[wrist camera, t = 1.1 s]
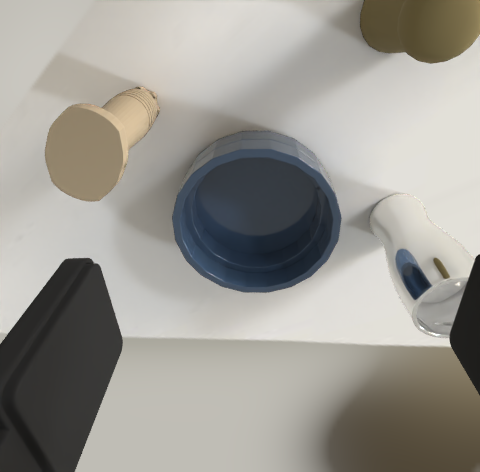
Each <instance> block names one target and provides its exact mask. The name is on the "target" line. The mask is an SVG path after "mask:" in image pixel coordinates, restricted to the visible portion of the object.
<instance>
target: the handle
mask: <svg viewBox="0 0 480 472" xmlns="http://www.w3.org/2000/svg"><path fill="white" fill-rule="evenodd" d="M159 111H160V107H159V106H158V104H157V95H156V93H155V92H150V91H148V90H146V89H145V88H144V87H136V88H135V89H130V90H127V91H124V92H122V93H120V94H118V95H116V96H115V97H113V98H112V99H111V100H109V101H108V102H107V103H106V104H105V105H104V106H103V107H102V108H100V107H98V106H95V105H91V104H75V105H72V106H70V107H68V108H67V109H66V110H65V111H64V112H63V113H62V114H61V115H60V116H59V117H58V118H57V119H56V120H55V121H54V123H53V124H52V126H51V127H50V129H49V133H48V136H47V142H46V147H45V160H46V164H47V168H48V171H49V174H50V178H51V181H52V182H53V183H54V184H55V186H56V187H58V188H59V189H60V190H61V191H63V192H64V193H66V194H68V195H70V196H72V197H74V198H77V199H80V200H84V201H99V200H101V199H102V198H103V197H104V196H105V195H107V194H108V193H109V192H110V191H111V190H112V189H113V188H114V186H115V185H116V184H117V183H118V182H119V180H120V179H121V177H122V175H123V173H124V170H125V167H126V165H127V160H128V150H129V149H130V148H131V147H133V146H134V145H135V144H136V143H137V142H138V141H140V140H141V139H142V138H143V137H144V136H145V135H146V133H147V132H148V131H149V130H150V128H151V126H152V125H153V123H154V121H155V119H156V117H157V116H158V114H159Z"/></svg>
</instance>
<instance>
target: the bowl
mask: <svg viewBox="0 0 480 472" xmlns="http://www.w3.org/2000/svg"><path fill="white" fill-rule="evenodd" d="M172 221H173V228H174V235H175V240H176V242H177V244H178V246H179V248H180V250H181V252H182V254H183V256H184V258H185V259H186V261H187V262H188V263H189V264H190V265H191V266H192V267H193V268H194V269H195V270H196V271H197V272H198V273H199V274H200V275H202V276H203V277H205V278H207V279H209V280H211V281H213V282H214V283H216V284H218V285H220V286H222V287H225V288H229V289H233V290H237V291H241V292H260V293H267V292H272V291H277V290H281V289H285V288H289V287H292V286H294V285H296V284H298V283H300V282H302V281H303V280H305V279H307V278H309V277H311V276H312V275H313V274H314V273H315V272H316V271H317V270H318V269H319V268H320V267H321V266H322V265H323V264H324V263H325V262H327V260H328V259H329V257H330V255H331V253H332V251H333V249H334V247H335V245H336V244H337V242H338V239H339V232H340V225H341V214H340V210H339V205H338V201H337V197H336V194H335V191H334V189H333V186H332V184H331V181H330V178H329V176H328V173H327V171H326V170H325V168H324V167H323V165H322V164H321V163H320V161H319V160H318V158H317V157H316V155H315V154H314V153H313V152H312V151H311V150H309V149H308V148H306V147H305V146H304V145H302V144H301V143H300V142H298V141H297V140H295V139H294V138H291V137H287V136H284V135H281V134H278V133H275V132H271V131H242V132H239V133H236V134H233V135H230V136H227V137H224V138H221V139H219V140H217V141H216V142H214V143H213V144H212V145H210V146H209V147H208V148H206V149H205V150H204V151H203V152H201V153H200V154H199V155H198V156H197V158H196V160H195V161H194V163H193V164H192V166H191V167H190V169H189V170H188V172H187V173H186V176H185V178H184V180H183V183H182V185H181V188H180V190H179V192H178V195H177V198H176V203H175V207H174V212H173V216H172Z"/></svg>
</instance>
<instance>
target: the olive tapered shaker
mask: <svg viewBox="0 0 480 472" xmlns="http://www.w3.org/2000/svg"><path fill="white" fill-rule="evenodd" d="M360 27H361V31H362V34H363V37H364V39H365V40H366V42H367V43H368V44H369V46H371V47H372V48H374V49H375V50H377V51H379V52H384V53H400V52H406V53H407V54H408V55H410V56H411V57H413V58H414V59H416V60H418V61H421V62H426V63H438V62H444V61H448V60H450V59H452V58H454V57H456V56H459V55H460V54H461V53H463V52H464V51H465V50H466V49H468V48H469V47H470V46H471V45H472V44H473V43H474V41H475V40H476V39H477V37H478V36H479V35H480V0H364V4H363V7H362V10H361V14H360Z"/></svg>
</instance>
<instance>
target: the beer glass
mask: <svg viewBox="0 0 480 472" xmlns="http://www.w3.org/2000/svg"><path fill="white" fill-rule="evenodd" d="M369 222H370V228H371V230H372V232H373V233H374V234H375V236H376V237H377V238H378V239H379V240H380V241H381V242H382V244H383V246H384V249H385V254H386V260H387V265H388V270H389V274H390V277H391V281H392V283H393V285H394V288H395V290H396V292H397V294H398V296H399V298H400V300H401V302H402V304H403V305H404V307H405V309H406V310H407V312H408V313H409V315H410V316H411V318H412V320H413V322H414V324H415V326H416V327H417V328H418V329H419V330H420V331H421V332H423V333H425V334H427V335H430V336H433V337H439V338H450V331H451V328H452V325H453V323H454V320H455V317H456V314H457V311H458V308H459V305H460V302H461V299H462V296H463V293H464V290H465V287H466V284H467V281H468V278H469V275H470V272H471V269H472V267H473V264H474V261H475V259H474V258H473V256H472V255H471V254H470V253H469V252H468V251H467V250H466V249H465V247H464V246H463V245H462V244H460V243H459V242H458V241H457V240H456V239H455V238H453V237H452V236H451V235H450V234H448V233H447V232H445V231H444V230H443V229H441V228H440V227H438V226H437V225H436V224H434V223H433V222H432V221H431V220H430V219H429V217H428V215H427V212H426V209H425V207H424V205H423V203H422V202H421V201H420V200H419V199H418V198H416V197H414V196H412V195H409V194H395V195H392V196H389V197H387V198H385V199H383V200H382V201H380V202H379V203H378V204H377V205H376V206H375V207H374V209H373V210H372V212H371V215H370V220H369Z"/></svg>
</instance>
